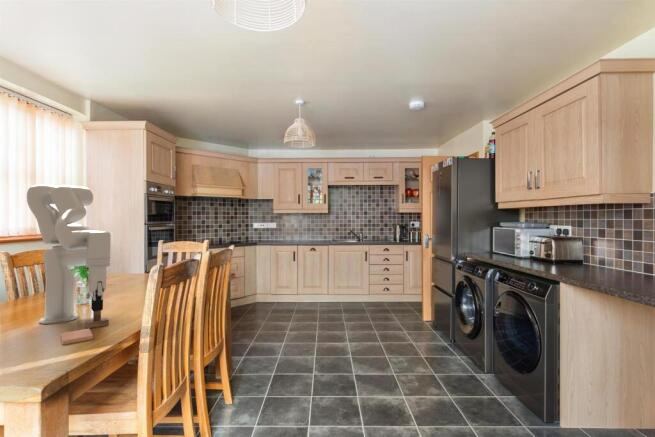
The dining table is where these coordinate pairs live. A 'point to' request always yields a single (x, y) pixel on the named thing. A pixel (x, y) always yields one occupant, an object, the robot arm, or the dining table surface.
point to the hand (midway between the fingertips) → (97, 309)
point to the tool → (96, 320)
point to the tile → (76, 336)
